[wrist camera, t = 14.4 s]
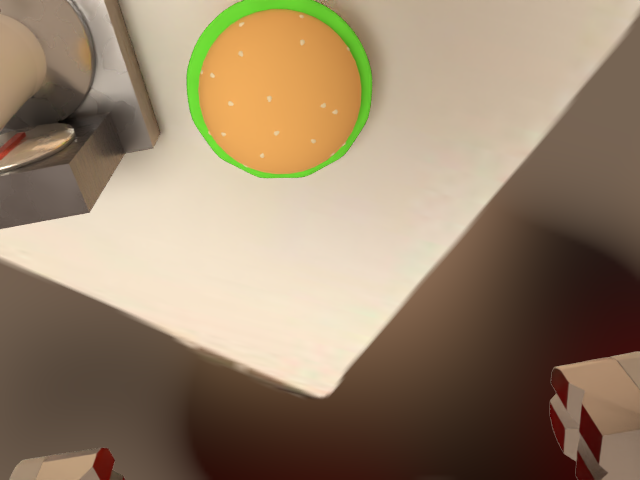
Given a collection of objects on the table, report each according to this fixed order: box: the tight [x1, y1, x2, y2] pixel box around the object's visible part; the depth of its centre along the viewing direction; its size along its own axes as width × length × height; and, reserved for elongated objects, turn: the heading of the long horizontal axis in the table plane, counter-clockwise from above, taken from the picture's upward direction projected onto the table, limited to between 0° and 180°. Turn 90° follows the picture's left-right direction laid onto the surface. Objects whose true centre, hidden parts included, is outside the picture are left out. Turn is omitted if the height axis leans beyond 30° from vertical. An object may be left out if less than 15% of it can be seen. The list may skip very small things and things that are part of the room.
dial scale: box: [0, 0, 160, 229], centre depth 34 cm, size 13×13×12 cm
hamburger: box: [187, 0, 372, 178], centre depth 37 cm, size 12×12×9 cm
